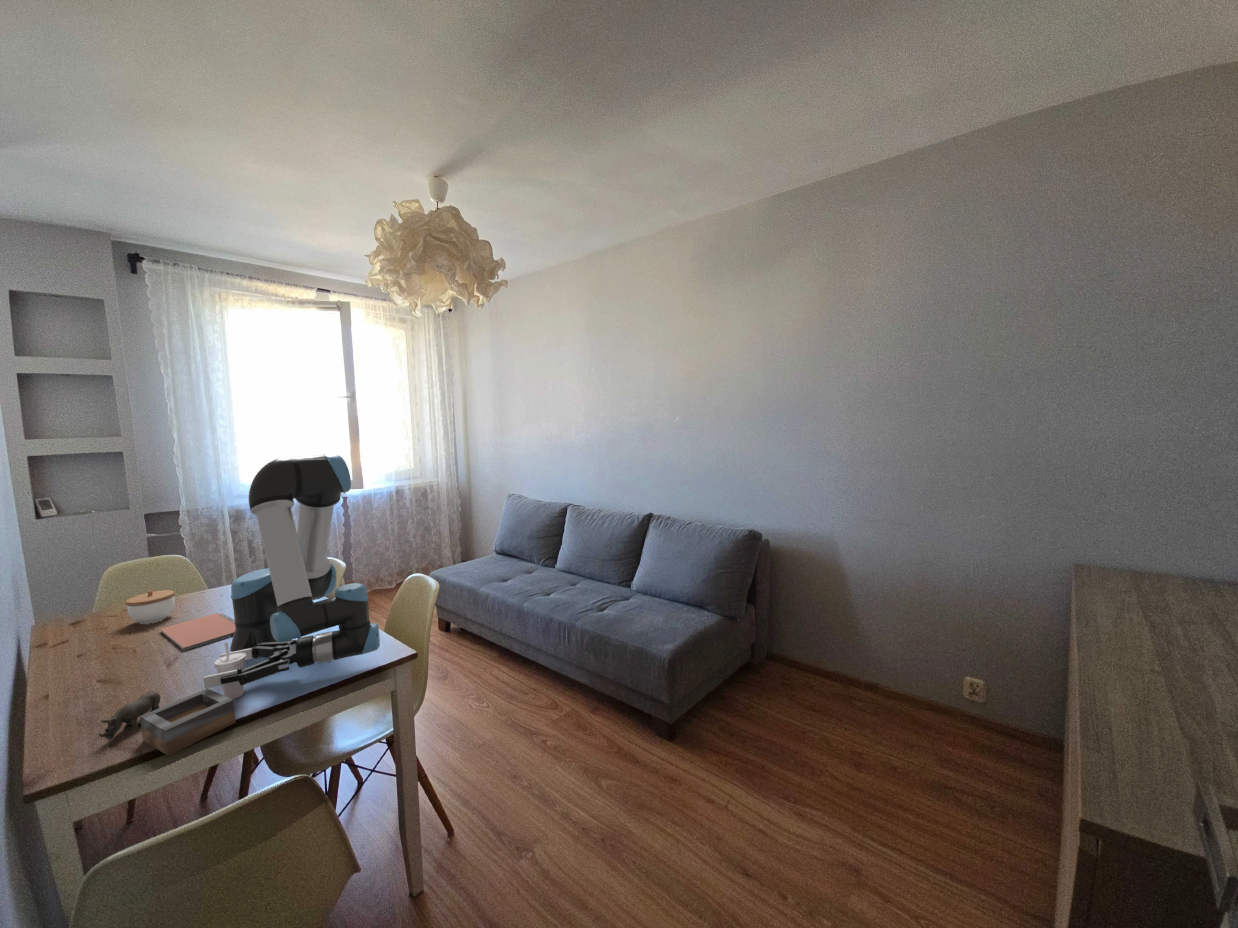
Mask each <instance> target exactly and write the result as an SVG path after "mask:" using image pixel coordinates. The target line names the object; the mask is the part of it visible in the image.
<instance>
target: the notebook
mask: <svg viewBox="0 0 1238 928" xmlns="http://www.w3.org/2000/svg"><path fill="white" fill-rule="evenodd" d="M226 617H227V618H226ZM233 621H234V622H233ZM159 631H160V632H161V633H162V634H163V635H164V636H165V637H166V638H168V639H169V640H170V641H171V642H173V644H175V645H176V646H177V647H179V648H180V649H181V650H182V651H184V652H186V651H189V650H191V649H194V648H199V647H201V646H204V645H207V644H208V645H209V644H212V643H214V642H216V641H217V642H218V641H220V640H224V639H227V638H229V636H230V637H233V636H232V635H234V632H235V619H234V618H232V617H230V616H228V615H227V614H225V613H222V612H221V613H219V612H215V613H212V614H209V615H205V616H201V617H198V618H194V619H191V620H187V621H184V622H180V623H176V624H172V625H169V626H166V627H162V628H159ZM226 637H227V638H226ZM223 638H224V639H223Z"/></svg>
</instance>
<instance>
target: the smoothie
mask: <svg viewBox="0 0 1238 928" xmlns="http://www.w3.org/2000/svg"><path fill="white" fill-rule="evenodd" d="M224 648H225V649H224V650H225V653H226V656H224V657H219V658H218V659H216V660H215V661H214V663H213V664H214V669H216V672H217V674H218V673H223V672H228V671H232V670H237V669H238V668H240V669H242V670H243V669H245V668H246V661H247V660H246V659H247V657H246V654H245V653H234V654H230V655H229V651H230V650H229V643H228V641H225V642H224ZM221 688H222V691H223V695H224V696H226V697H228V698H231V699H233V700H234V699H237V698H240V697H241V696H242V695H244V693H245V684H244V685H240V683H239V681H238V682H233V683H229V684H224V685H221Z"/></svg>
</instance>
